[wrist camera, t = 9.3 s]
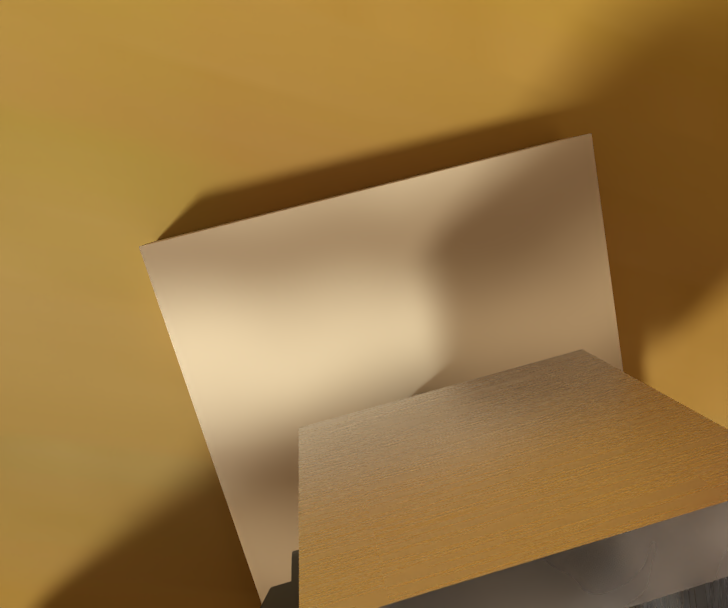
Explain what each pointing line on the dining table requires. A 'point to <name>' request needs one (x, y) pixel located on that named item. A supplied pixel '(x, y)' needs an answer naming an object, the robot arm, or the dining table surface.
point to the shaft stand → (377, 311)
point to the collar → (517, 497)
